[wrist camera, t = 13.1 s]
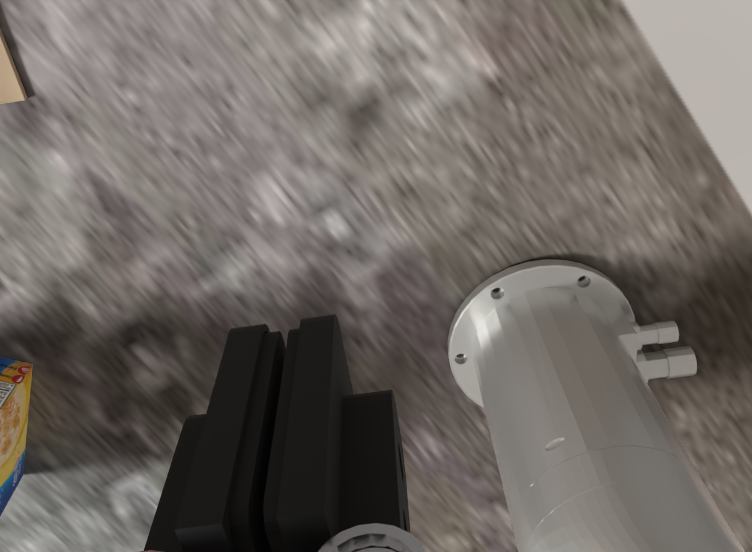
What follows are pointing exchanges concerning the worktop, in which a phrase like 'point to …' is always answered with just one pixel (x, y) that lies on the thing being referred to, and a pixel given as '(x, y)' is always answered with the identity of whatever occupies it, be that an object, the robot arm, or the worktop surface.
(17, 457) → the beverage box
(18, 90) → the cork mat
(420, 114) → the worktop surface
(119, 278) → the worktop surface
